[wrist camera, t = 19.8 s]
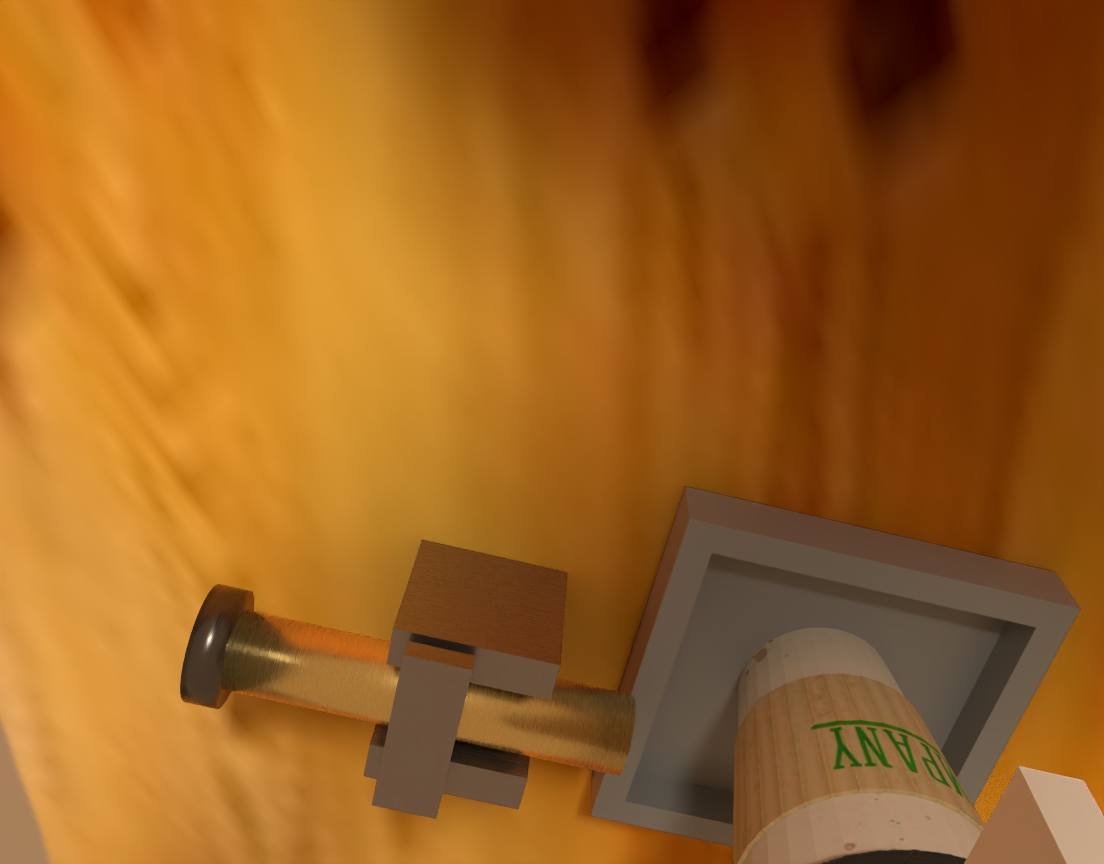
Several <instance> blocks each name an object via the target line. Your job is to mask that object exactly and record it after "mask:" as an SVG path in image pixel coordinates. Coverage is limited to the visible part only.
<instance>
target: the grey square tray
mask: <svg viewBox="0 0 1104 864" xmlns="http://www.w3.org/2000/svg"><path fill="white" fill-rule="evenodd" d="M1080 609H1081V608H1080V607H1079V605H1078V604H1077V603H1076V601H1075V600H1074V598H1073V597H1072V595H1071V594H1070V593H1069V591H1068V590H1067V588H1066V587H1065V585H1064V584H1063V583H1062V581H1061V580H1060V578H1059V577H1058V575H1057V574H1056V573H1055V572H1053V571H1049V570H1045V569H1040V568H1036V567H1032V566H1027V565H1023V564H1019V563H1014V562H1010V561H1006V560H1001V559H997V558H993V557H988V556H984V555H980V554H975V553H971V552H967V551H963V550H958V549H954V548H950V547H945V546H941V545H937V544H932V543H928V542H924V541H919V540H915V539H911V538H906V537H902V536H898V535H893V534H889V533H885V532H881V531H876V530H872V529H868V528H863V527H859V526H855V525H850V524H846V523H842V522H837V521H833V520H829V519H824V518H820V517H816V516H811V515H807V514H803V513H799V512H794V511H790V510H786V509H781V508H777V507H773V506H768V505H764V504H760V503H755V502H751V501H747V500H742V499H738V498H734V497H729V496H725V495H721V494H717V493H712V492H708V491H704V490H699V489H695V488H691V487H686V486H685V489H684V492H683V495H682V499H681V502H680V505H679V508H678V511H677V514H676V517H675V520H674V523H673V526H672V529H671V532H670V535H669V538H668V541H667V544H666V548H665V551H664V554H663V557H662V560H661V563H660V566H659V569H658V572H657V575H656V578H655V581H654V584H653V587H652V590H651V594H650V597H649V600H648V603H647V606H646V609H645V612H644V615H643V618H642V621H641V624H640V627H639V630H638V633H637V636H636V640H635V643H634V646H633V649H632V652H631V655H630V658H629V661H628V664H627V667H626V670H625V673H624V676H623V679H622V682H621V685H620V689H619V692H621V693H625V694H630V695H633V696H634V697H635V705H636V709H635V722H634V729H633V735H632V741H631V745H630V750H629V754H628V757H627V760H626V763H625V766H624V769H623V771H622V773H621V774H620V775H619V776H617V775H612V774H608V773H603V772H599V771H594V770H593V771H592V782H591V816H593V817H598V818H602V819H607V820H612V821H616V822H621V823H626V824H630V825H635V826H640V827H644V828H649V829H653V830H658V831H663V832H667V833H672V834H677V835H681V836H686V837H691V838H695V839H700V840H705V841H709V842H714V843H718V844H723V845H728V846H732V847H733V802H734V745H735V741H736V737H737V733H738V685H739V681H740V677H741V673H742V671H743V669H744V667H745V665H746V663H747V662H748V660H749V659H750V658H751V657H752V655H753V654H754V653H755V652H756V651H757V650H758V649H760V648H761V647H762V646H763V645H764V644H766V643H767V642H769V641H771V640H772V639H774V638H776V637H778V636H780V635H783V634H785V633H788V632H791V631H794V630H800V629H805V628H821V627H823V628H831V629H838V630H842V631H845V632H848V633H851V634H853V635H855V636H857V637H859V638H861V639H863V640H865V641H866V642H867V643H868V644H870V645H871V646H872V647H873V648H875V650H876V651H877V652H878V653H879V655H880V656H881V657H882V659H883V660H884V662H885V664H886V665H887V667H888V669H889V671H890V672H891V674H892V676H893V678H894V679H895V681H896V683H897V685H898V686H899V688H900V690H901V691H902V693H903V695H904V697H905V698H906V699H908V700H909V702H910V703H911V704H912V705H913V707H914V708H915V709H916V710H917V712H918V713H919V715H920V716H921V718H922V720H923V721H924V723H925V725H926V727H927V728H928V730H929V732H930V733H931V735H932V737H933V738H934V740H935V742H936V743H937V745H938V747H939V748H940V750H941V752H942V753H943V755H944V757H945V759H946V760H947V762H948V764H949V765H950V767H951V769H952V770H953V772H954V774H955V775H956V777H957V779H958V780H959V782H960V784H961V786H962V787H963V789H964V791H965V792H966V794H967V796H968V797H969V799H970V801H971V802H972V804H973V805H974V803H975V802H976V800H977V798H978V796H979V794H980V792H981V791H982V789H983V787H984V785H985V783H986V782H987V780H988V778H989V776H990V774H991V772H992V771H993V769H994V767H995V765H996V763H997V761H998V760H999V758H1000V756H1001V754H1002V752H1003V750H1004V749H1005V747H1006V745H1007V743H1008V741H1009V739H1010V738H1011V736H1012V734H1013V732H1014V730H1015V728H1016V727H1017V725H1018V723H1019V721H1020V719H1021V717H1022V716H1023V714H1024V712H1025V710H1026V708H1027V706H1028V705H1029V703H1030V701H1031V699H1032V697H1033V695H1034V694H1035V692H1036V690H1037V688H1038V686H1039V684H1040V683H1041V681H1042V679H1043V677H1044V675H1045V673H1046V672H1047V670H1048V668H1049V666H1050V664H1051V662H1052V661H1053V659H1054V657H1055V655H1056V653H1057V651H1058V650H1059V648H1060V646H1061V644H1062V642H1063V640H1064V639H1065V637H1066V635H1067V633H1068V631H1069V629H1070V628H1071V626H1072V624H1073V622H1074V620H1075V618H1076V617H1077V615H1078V613H1079V611H1080Z"/></svg>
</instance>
